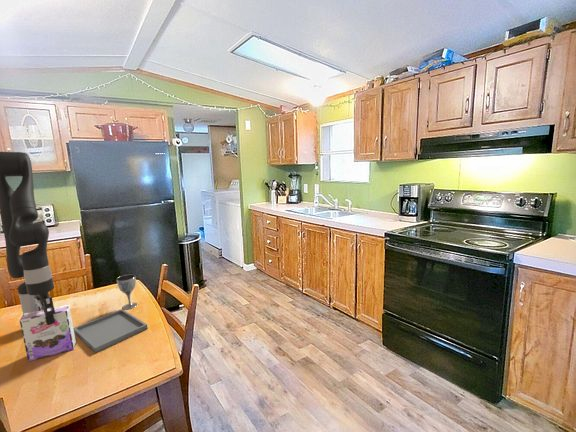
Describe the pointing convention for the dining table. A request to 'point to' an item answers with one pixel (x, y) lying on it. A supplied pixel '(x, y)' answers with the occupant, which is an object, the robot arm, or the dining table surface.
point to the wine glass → (127, 288)
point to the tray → (109, 330)
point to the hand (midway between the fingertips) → (47, 320)
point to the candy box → (47, 333)
